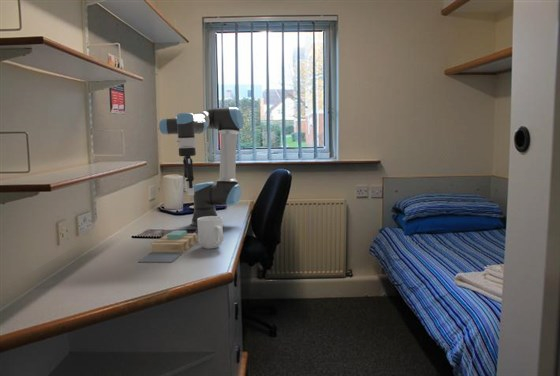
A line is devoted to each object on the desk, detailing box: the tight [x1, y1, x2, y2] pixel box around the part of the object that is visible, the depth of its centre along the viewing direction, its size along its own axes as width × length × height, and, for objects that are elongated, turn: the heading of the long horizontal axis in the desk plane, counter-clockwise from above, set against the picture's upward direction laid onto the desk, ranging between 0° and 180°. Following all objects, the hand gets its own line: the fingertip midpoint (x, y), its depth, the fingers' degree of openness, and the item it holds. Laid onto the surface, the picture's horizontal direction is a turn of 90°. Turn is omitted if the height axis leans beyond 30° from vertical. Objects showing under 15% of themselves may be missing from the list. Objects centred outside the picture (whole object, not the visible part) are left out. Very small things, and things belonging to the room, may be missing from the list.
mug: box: [196, 215, 224, 250], centre depth 202 cm, size 15×11×13 cm
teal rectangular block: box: [167, 230, 188, 239], centre depth 208 cm, size 9×6×2 cm, turn 173°
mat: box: [137, 251, 184, 264], centre depth 189 cm, size 14×14×1 cm
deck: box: [150, 233, 198, 254], centre depth 205 cm, size 20×14×4 cm
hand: (189, 193), depth 212 cm, fingers open, 13 cm apart
